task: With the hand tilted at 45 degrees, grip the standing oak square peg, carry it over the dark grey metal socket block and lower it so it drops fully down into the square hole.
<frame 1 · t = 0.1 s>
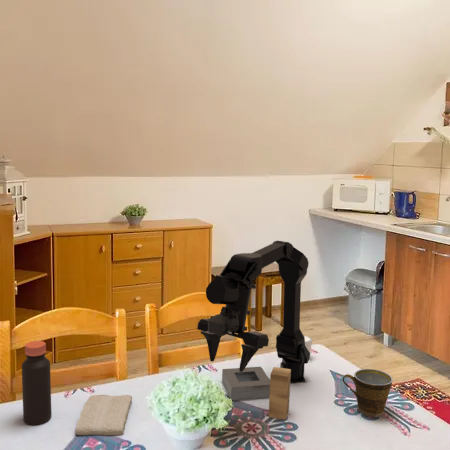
hand: (226, 366, 131), 15 cm above the table, tool pointing down, fingers open, 9 cm apart
ceramic cup: (364, 410, 142), on the table
oak peg: (278, 414, 139), on the table
washcloth: (105, 419, 135), on the table
bottle: (37, 419, 133), on the table
socket block: (246, 389, 152), on the table
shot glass: (300, 358, 175), on the table
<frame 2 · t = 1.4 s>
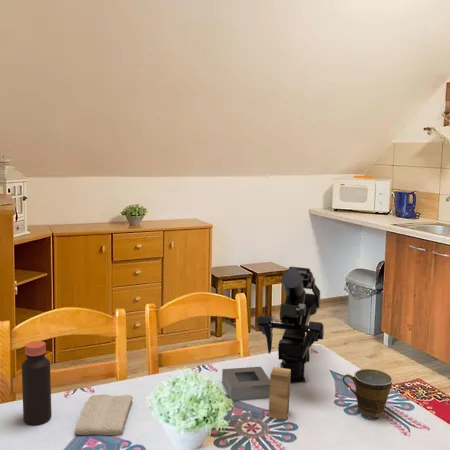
hand: (285, 355, 144), 13 cm above the table, tool tilted 45°, fingers open, 9 cm apart
nothing on the table moved.
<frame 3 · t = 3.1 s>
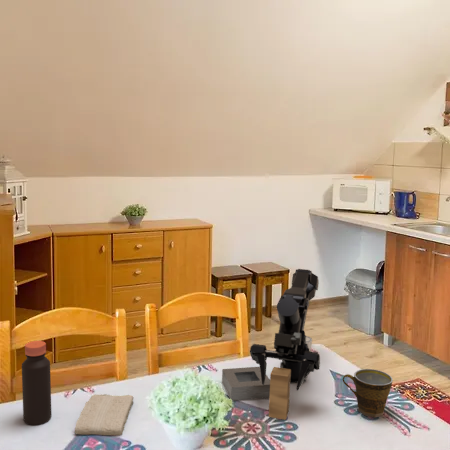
hand: (280, 386, 137), 8 cm above the table, tool tilted 45°, fingers open, 9 cm apart
nothing on the table moved.
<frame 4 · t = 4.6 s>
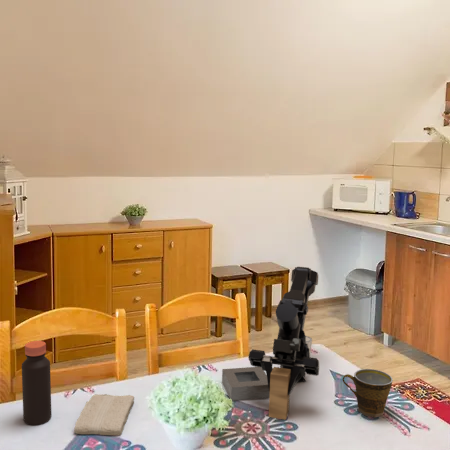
hand: (278, 393, 136), 7 cm above the table, tool tilted 45°, fingers closed on oak peg, 5 cm apart
oak peg: (278, 414, 138), on the table, touching gripper
everything else where it was.
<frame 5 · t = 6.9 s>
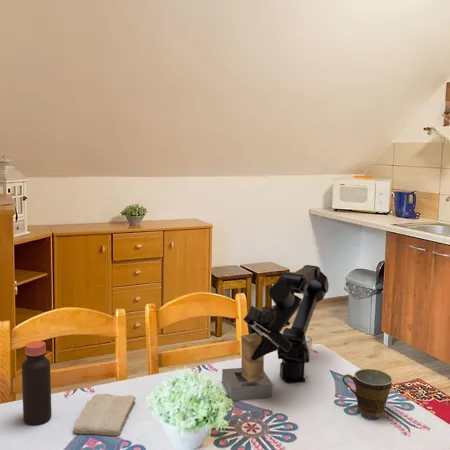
hand: (248, 356, 146), 12 cm above the table, tool tilted 45°, fingers closed on oak peg, 5 cm apart
oak peg: (252, 377, 148), point 5 cm above the table, touching gripper
everything else where it was.
when the fingers open (8 cm above the table, at t = 9.2 s): oak peg drops 1 cm, resting in socket block.
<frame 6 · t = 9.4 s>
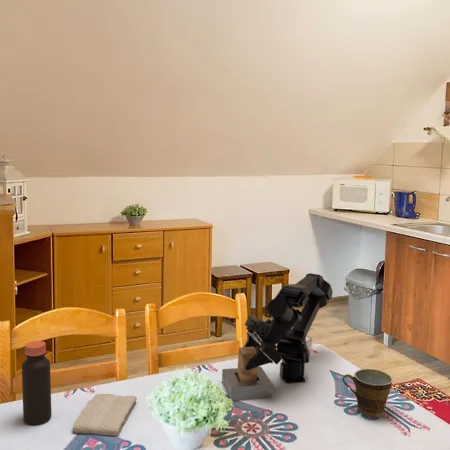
hand: (242, 363, 150), 8 cm above the table, tool tilted 45°, fingers open, 7 cm apart
oak peg: (246, 389, 152), resting in socket block
everything else where it was.
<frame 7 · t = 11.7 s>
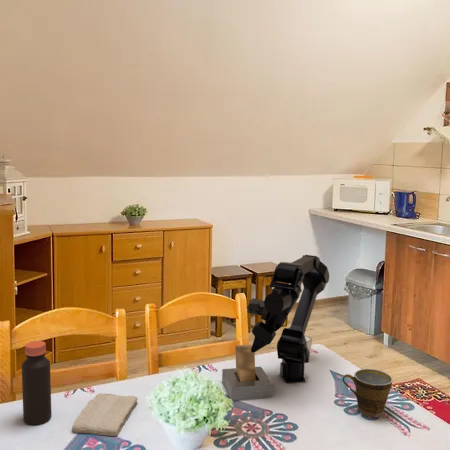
hand: (256, 345, 155), 12 cm above the table, tool tilted 30°, fingers open, 9 cm apart
oak peg: (246, 387, 152), point 1 cm above the table, tilted 15°, touching gripper, socket block
socket block: (246, 389, 152), on the table, touching oak peg
everything else where it was.
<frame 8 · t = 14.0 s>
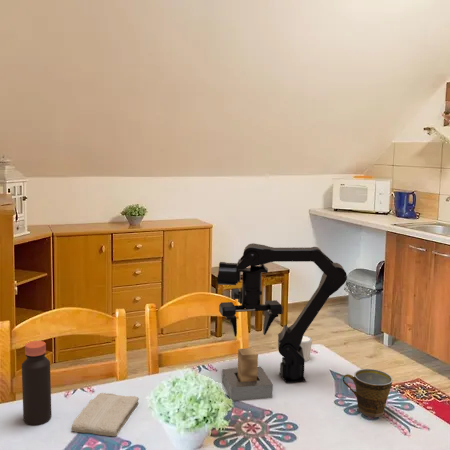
hand: (249, 335, 159), 13 cm above the table, tool pointing down, fingers open, 9 cm apart
oak peg: (246, 390, 151), resting in socket block
socket block: (246, 389, 152), on the table
everything else where it was.
at the end: oak peg 0.7 cm off-centre on the socket block, point 0.0 cm above the socket block's base; oak peg tilted 0°; socket block moved 0.0 cm from its start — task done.
